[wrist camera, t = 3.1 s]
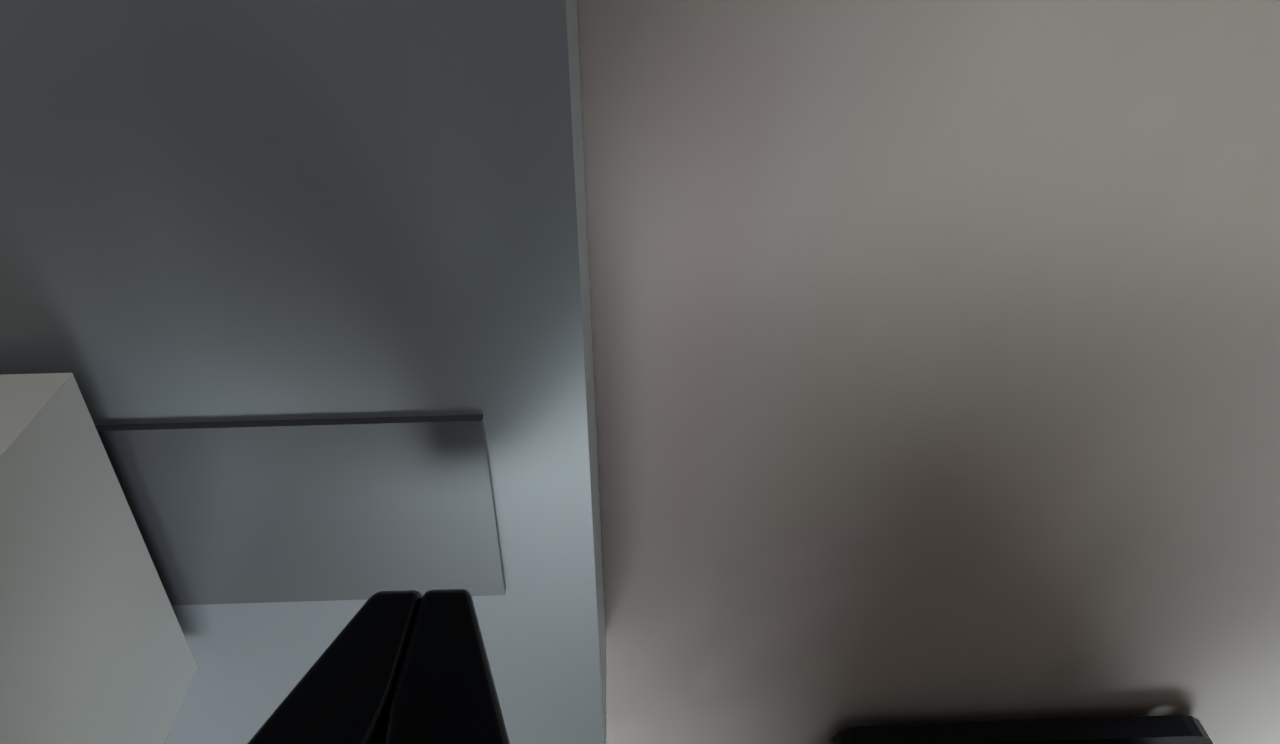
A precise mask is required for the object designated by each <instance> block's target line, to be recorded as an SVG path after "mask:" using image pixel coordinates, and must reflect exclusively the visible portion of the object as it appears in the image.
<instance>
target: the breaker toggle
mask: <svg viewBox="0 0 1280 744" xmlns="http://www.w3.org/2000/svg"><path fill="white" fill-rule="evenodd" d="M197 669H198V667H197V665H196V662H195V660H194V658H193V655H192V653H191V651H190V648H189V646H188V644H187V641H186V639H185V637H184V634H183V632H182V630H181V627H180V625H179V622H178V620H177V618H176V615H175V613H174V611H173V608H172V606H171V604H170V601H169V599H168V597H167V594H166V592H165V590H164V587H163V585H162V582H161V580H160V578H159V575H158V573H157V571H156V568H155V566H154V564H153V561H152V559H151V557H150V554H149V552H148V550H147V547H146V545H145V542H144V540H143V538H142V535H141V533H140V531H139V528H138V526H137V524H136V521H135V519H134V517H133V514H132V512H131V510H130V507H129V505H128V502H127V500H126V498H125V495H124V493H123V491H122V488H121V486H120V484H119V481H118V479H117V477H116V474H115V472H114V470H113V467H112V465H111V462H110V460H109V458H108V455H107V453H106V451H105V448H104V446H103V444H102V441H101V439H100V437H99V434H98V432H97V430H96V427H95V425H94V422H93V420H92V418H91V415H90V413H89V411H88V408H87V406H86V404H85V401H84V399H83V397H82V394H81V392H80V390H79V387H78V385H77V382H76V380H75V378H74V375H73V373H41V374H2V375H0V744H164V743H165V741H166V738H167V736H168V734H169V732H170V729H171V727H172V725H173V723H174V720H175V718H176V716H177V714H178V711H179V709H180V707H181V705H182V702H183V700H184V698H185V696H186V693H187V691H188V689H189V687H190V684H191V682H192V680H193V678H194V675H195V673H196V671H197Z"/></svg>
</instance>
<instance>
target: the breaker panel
mask: <svg viewBox="0 0 1280 744" xmlns="http://www.w3.org/2000/svg"><path fill="white" fill-rule="evenodd" d="M41 373H73V375H74V378H75V380H76V382H77V385H78V387H79V390H80V392H81V394H82V397H83V399H84V401H85V404H86V406H87V408H88V411H89V413H90V415H91V418H92V420H93V422H94V425H95V427H96V430H97V432H98V434H99V437H100V439H101V441H102V444H103V446H104V448H105V451H106V453H107V455H108V458H109V460H110V462H111V465H112V467H113V470H114V472H115V474H116V477H117V479H118V481H119V484H120V486H121V488H122V491H123V493H124V495H125V498H126V500H127V502H128V505H129V507H130V510H131V512H132V514H133V517H134V519H135V521H136V524H137V526H138V528H139V531H140V533H141V535H142V538H143V540H144V542H145V545H146V547H147V550H148V552H149V554H150V557H151V559H152V561H153V564H154V566H155V568H156V571H157V573H158V575H159V578H160V580H161V582H162V585H163V587H164V590H165V592H166V594H167V597H168V599H169V601H170V604H171V606H172V608H173V611H174V613H175V615H176V618H177V620H178V622H179V625H180V627H181V630H182V632H183V634H184V637H185V639H186V641H187V644H188V646H189V648H190V651H191V653H192V655H193V658H194V660H195V662H196V665H197V667H198V669H197V671H196V673H195V675H194V678H193V680H192V682H191V684H190V687H189V689H188V691H187V693H186V696H185V698H184V700H183V702H182V705H181V707H180V709H179V711H178V714H177V716H176V718H175V720H174V723H173V725H172V727H171V729H170V732H169V734H168V736H167V738H166V741H165V743H164V744H247V743H248V742H249V741H250V740H251V739H252V737H253V736H254V735H255V734H256V733H257V731H258V730H259V729H260V728H261V727H262V725H263V724H264V723H265V722H266V721H267V719H268V718H269V717H270V716H271V715H272V714H273V712H274V711H275V710H276V709H277V708H278V706H279V705H280V704H281V703H282V702H283V700H284V699H285V698H286V697H287V696H288V694H289V693H290V692H291V691H292V690H293V688H294V687H295V686H296V685H297V684H298V683H299V681H300V680H301V679H302V678H303V677H304V675H305V674H306V673H307V672H308V671H309V669H310V668H311V667H312V666H313V665H314V663H315V662H316V661H317V660H318V659H319V657H320V656H321V655H322V654H323V653H324V652H325V650H326V649H327V648H328V647H329V646H330V644H331V643H332V642H333V641H334V640H335V638H336V637H337V636H338V635H339V634H340V632H341V631H342V630H343V629H344V628H345V626H346V625H347V624H348V623H349V622H350V621H351V619H352V618H353V617H354V616H355V615H356V613H357V612H358V611H359V610H360V609H361V607H362V606H363V605H364V604H365V603H366V601H367V600H368V599H369V598H370V597H371V596H372V595H374V594H375V593H377V592H380V591H403V590H415V591H419V592H420V593H422V595H424V594H425V592H427V591H428V590H439V589H466V590H468V591H469V592H470V593H471V596H472V599H473V603H474V606H475V610H476V614H477V618H478V622H479V626H480V630H481V633H482V637H483V641H484V645H485V649H486V653H487V657H488V660H489V664H490V668H491V672H492V676H493V680H494V684H495V688H496V691H497V695H498V699H499V703H500V707H501V711H502V715H503V718H504V722H505V726H506V730H507V734H508V738H509V742H510V744H606V628H605V606H604V584H603V562H602V540H601V517H600V495H599V473H598V451H597V429H596V407H595V385H594V363H593V341H592V318H591V296H590V274H589V252H588V230H587V208H586V186H585V164H584V142H583V119H582V97H581V75H580V53H579V31H578V9H577V0H0V375H2V374H41Z"/></svg>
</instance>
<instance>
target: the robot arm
mask: <svg viewBox="0 0 1280 744" xmlns="http://www.w3.org/2000/svg"><path fill="white" fill-rule="evenodd" d="M247 744H510V742H509V738H508V734H507V730H506V726H505V722H504V718H503V715H502V711H501V707H500V703H499V699H498V695H497V691H496V688H495V684H494V680H493V676H492V672H491V668H490V664H489V660H488V657H487V653H486V649H485V645H484V641H483V637H482V633H481V630H480V626H479V622H478V618H477V614H476V610H475V606H474V603H473V599H472V596H471V593H470V592H469V591H468V590H466V589H439V590H428V591H427V592H425V594H424V595H422V593H420V592H419V591H415V590H403V591H380V592H377V593H375V594H374V595H372V596H371V597H370V598H369V599H368V600H367V601H366V603H365V604H364V605H363V606H362V607H361V609H360V610H359V611H358V612H357V613H356V615H355V616H354V617H353V618H352V619H351V621H350V622H349V623H348V624H347V625H346V626H345V628H344V629H343V630H342V631H341V632H340V634H339V635H338V636H337V637H336V638H335V640H334V641H333V642H332V643H331V644H330V646H329V647H328V648H327V649H326V650H325V652H324V653H323V654H322V655H321V656H320V657H319V659H318V660H317V661H316V662H315V663H314V665H313V666H312V667H311V668H310V669H309V671H308V672H307V673H306V674H305V675H304V677H303V678H302V679H301V680H300V681H299V683H298V684H297V685H296V686H295V687H294V688H293V690H292V691H291V692H290V693H289V694H288V696H287V697H286V698H285V699H284V700H283V702H282V703H281V704H280V705H279V706H278V708H277V709H276V710H275V711H274V712H273V714H272V715H271V716H270V717H269V718H268V719H267V721H266V722H265V723H264V724H263V725H262V727H261V728H260V729H259V730H258V731H257V733H256V734H255V735H254V736H253V737H252V739H251V740H250V741H249V742H248V743H247ZM829 744H1213V743H1212V741H1211V739H1210V738H1209V736H1208V734H1207V733H1206V731H1205V730H1204V728H1203V726H1202V725H1201V723H1200V721H1199V720H1198V719H1196V718H1194V717H1192V716H1184V715H1172V716H1143V717H1114V718H1085V719H1056V720H1027V721H998V722H969V723H941V724H912V725H883V726H859V727H853V728H848V729H846V730H843V731H841V732H839V733H837V734H836V735H835V736H834V737H833V738H832V739H831V741H830V743H829Z"/></svg>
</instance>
